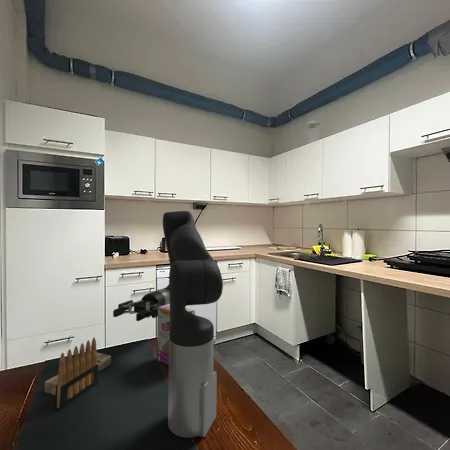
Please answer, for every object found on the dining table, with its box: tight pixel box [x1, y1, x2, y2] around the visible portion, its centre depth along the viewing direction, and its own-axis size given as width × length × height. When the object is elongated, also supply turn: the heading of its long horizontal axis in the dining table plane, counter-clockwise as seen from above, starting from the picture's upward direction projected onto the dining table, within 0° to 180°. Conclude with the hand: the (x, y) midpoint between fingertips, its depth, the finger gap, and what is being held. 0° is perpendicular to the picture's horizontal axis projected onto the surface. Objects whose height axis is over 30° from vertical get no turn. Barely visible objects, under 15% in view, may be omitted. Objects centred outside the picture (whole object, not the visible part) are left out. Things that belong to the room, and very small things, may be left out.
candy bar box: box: [156, 304, 196, 367], centre depth 77 cm, size 11×5×16 cm, turn 58°
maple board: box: [44, 352, 112, 396], centre depth 69 cm, size 5×16×2 cm, turn 160°
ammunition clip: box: [53, 337, 99, 411], centre depth 61 cm, size 11×2×12 cm, turn 162°
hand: (125, 315), depth 77 cm, fingers open, 8 cm apart
